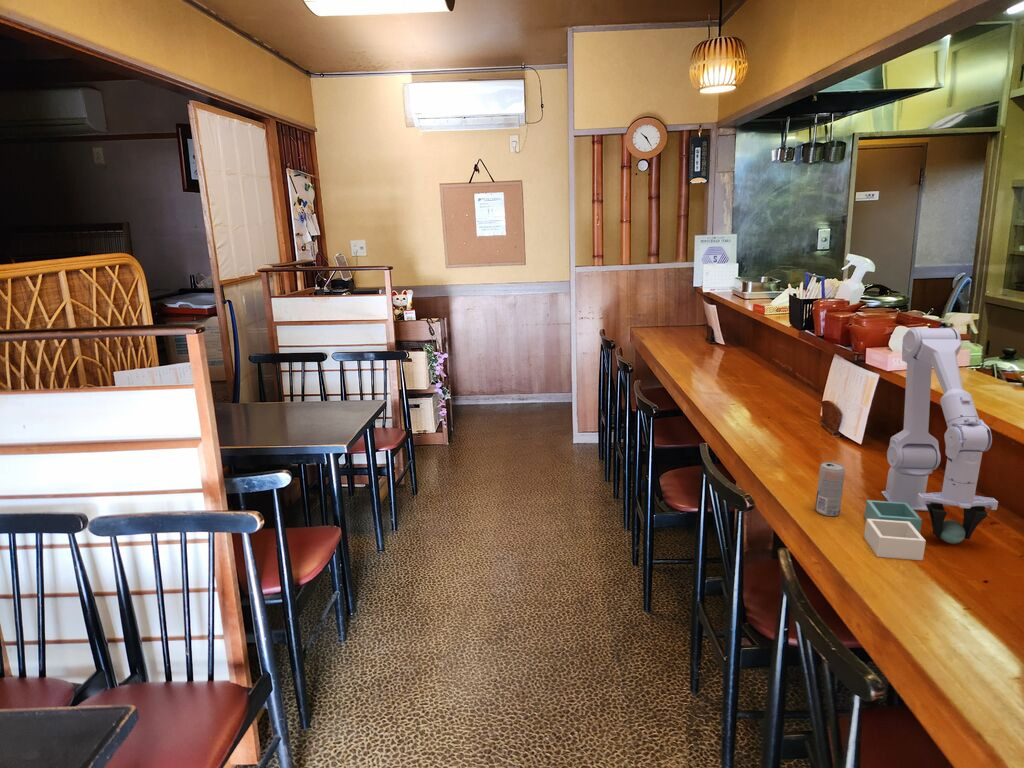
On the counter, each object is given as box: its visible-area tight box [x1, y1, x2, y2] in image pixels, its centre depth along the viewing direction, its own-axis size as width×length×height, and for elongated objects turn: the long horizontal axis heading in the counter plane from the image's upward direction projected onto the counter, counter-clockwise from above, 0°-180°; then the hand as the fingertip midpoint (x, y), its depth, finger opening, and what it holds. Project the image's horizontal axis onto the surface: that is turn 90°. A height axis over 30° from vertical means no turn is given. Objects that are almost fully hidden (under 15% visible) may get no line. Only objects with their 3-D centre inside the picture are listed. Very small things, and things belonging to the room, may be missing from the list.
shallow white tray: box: [863, 519, 927, 561], centre depth 134 cm, size 9×9×4 cm
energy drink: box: [814, 461, 846, 517], centre depth 150 cm, size 5×5×12 cm
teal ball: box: [939, 519, 966, 544], centre depth 136 cm, size 5×5×5 cm
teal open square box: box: [864, 499, 923, 534], centre depth 143 cm, size 9×9×4 cm
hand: (950, 536), depth 136 cm, fingers closed on teal ball, 5 cm apart
